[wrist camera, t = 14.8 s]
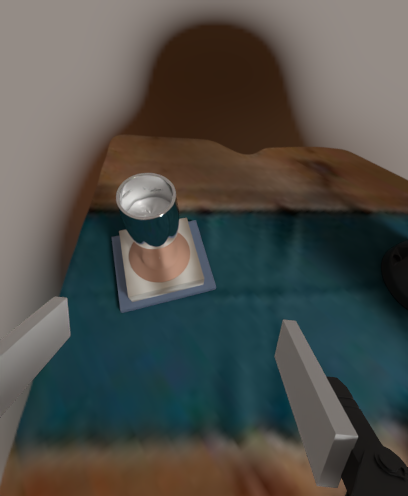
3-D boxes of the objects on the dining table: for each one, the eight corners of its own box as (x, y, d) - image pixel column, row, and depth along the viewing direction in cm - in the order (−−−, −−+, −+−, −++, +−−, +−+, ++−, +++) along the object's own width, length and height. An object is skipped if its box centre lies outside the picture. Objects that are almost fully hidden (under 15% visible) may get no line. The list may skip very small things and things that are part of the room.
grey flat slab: (195, 223, 48) (195, 220, 47) (215, 289, 42) (216, 287, 41) (113, 240, 46) (111, 237, 45) (122, 312, 40) (120, 311, 39)
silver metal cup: (135, 240, 41) (109, 177, 28) (175, 231, 42) (169, 166, 29) (143, 278, 38) (118, 227, 25) (186, 267, 39) (184, 213, 26)
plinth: (186, 226, 47) (186, 217, 44) (203, 284, 41) (204, 278, 39) (123, 239, 45) (118, 230, 42) (132, 302, 39) (127, 296, 37)
